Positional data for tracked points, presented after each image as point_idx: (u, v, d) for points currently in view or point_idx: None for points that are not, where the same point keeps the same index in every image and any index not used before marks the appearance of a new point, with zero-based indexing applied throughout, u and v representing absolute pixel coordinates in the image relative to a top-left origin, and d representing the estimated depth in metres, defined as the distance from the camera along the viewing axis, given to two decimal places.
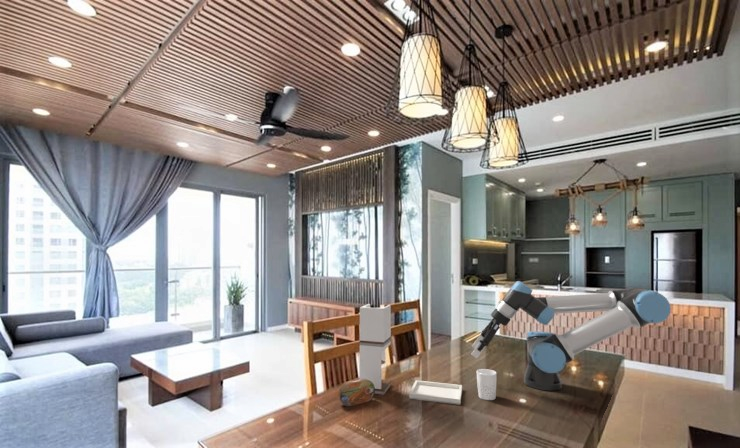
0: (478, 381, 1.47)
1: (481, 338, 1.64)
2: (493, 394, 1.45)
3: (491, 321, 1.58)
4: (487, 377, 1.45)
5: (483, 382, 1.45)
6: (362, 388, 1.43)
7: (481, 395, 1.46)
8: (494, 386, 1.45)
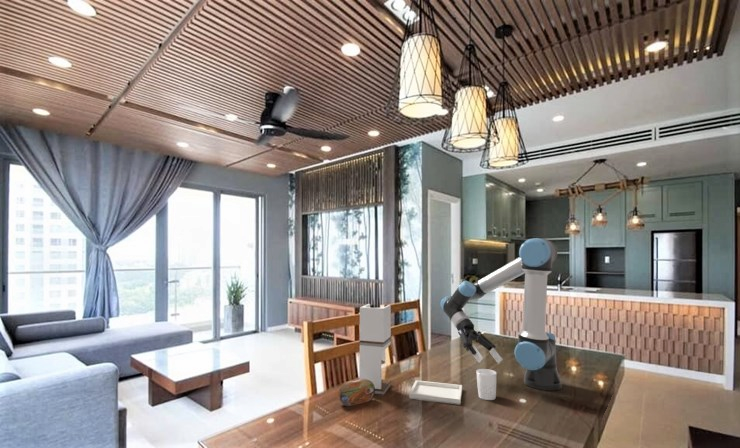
0: (478, 381, 1.47)
1: (491, 351, 1.61)
2: (493, 394, 1.45)
3: None
4: (487, 377, 1.45)
5: (483, 382, 1.45)
6: (362, 388, 1.43)
7: (481, 395, 1.46)
8: (494, 386, 1.45)
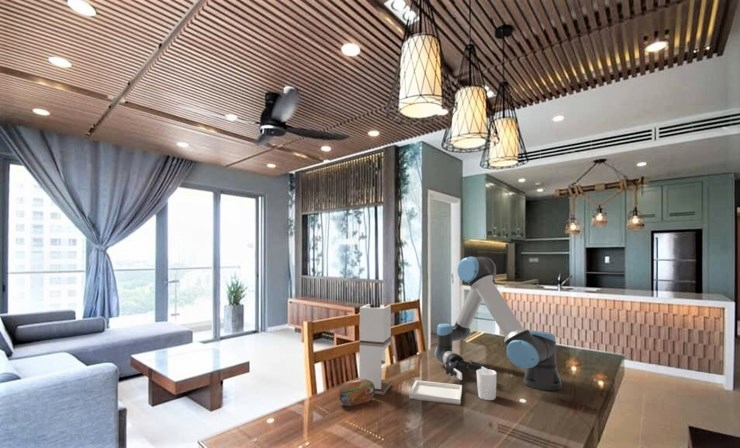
0: (478, 381, 1.47)
1: None
2: (493, 394, 1.45)
3: None
4: (487, 377, 1.45)
5: (483, 382, 1.45)
6: (362, 388, 1.43)
7: (481, 395, 1.46)
8: (494, 386, 1.45)
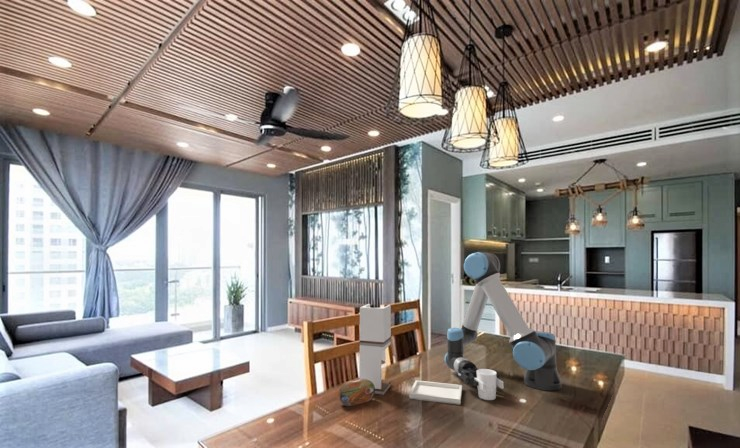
0: None
1: None
2: (493, 394, 1.45)
3: None
4: (487, 377, 1.45)
5: (483, 382, 1.45)
6: (362, 388, 1.43)
7: (481, 395, 1.46)
8: (494, 386, 1.45)
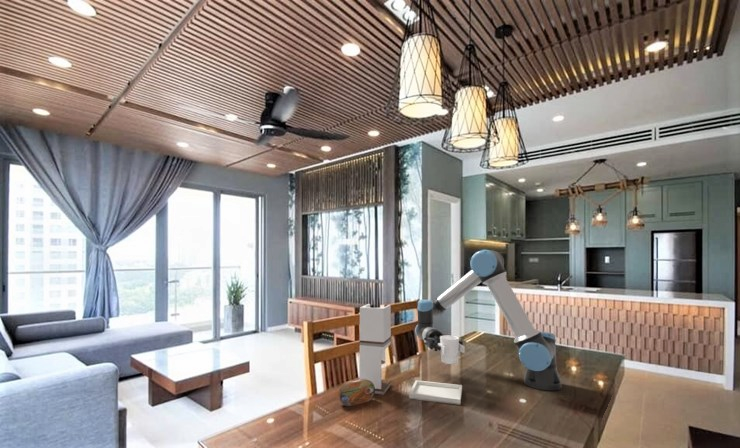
0: None
1: None
2: (455, 358, 1.49)
3: None
4: (449, 342, 1.49)
5: None
6: (362, 388, 1.43)
7: (443, 359, 1.50)
8: (456, 350, 1.50)
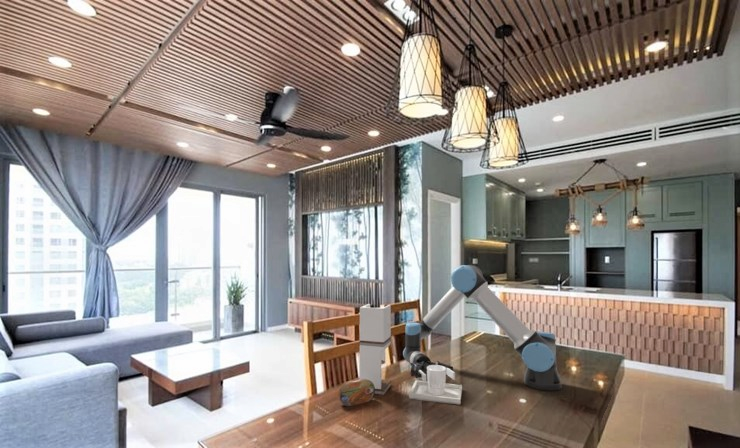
0: (428, 377, 1.50)
1: (447, 372, 1.54)
2: (442, 389, 1.48)
3: None
4: (436, 373, 1.48)
5: (432, 378, 1.48)
6: (362, 388, 1.43)
7: (430, 390, 1.49)
8: (443, 382, 1.48)
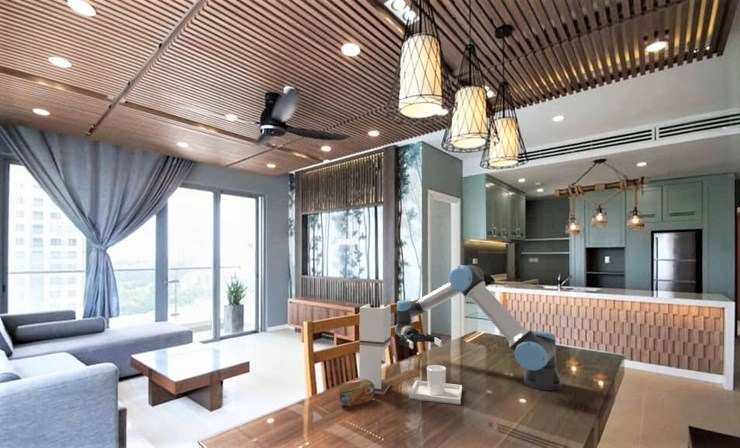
0: (428, 377, 1.50)
1: (435, 341, 1.69)
2: (442, 389, 1.48)
3: (416, 340, 1.76)
4: (436, 373, 1.48)
5: (432, 378, 1.48)
6: (362, 388, 1.43)
7: (430, 390, 1.49)
8: (443, 382, 1.48)
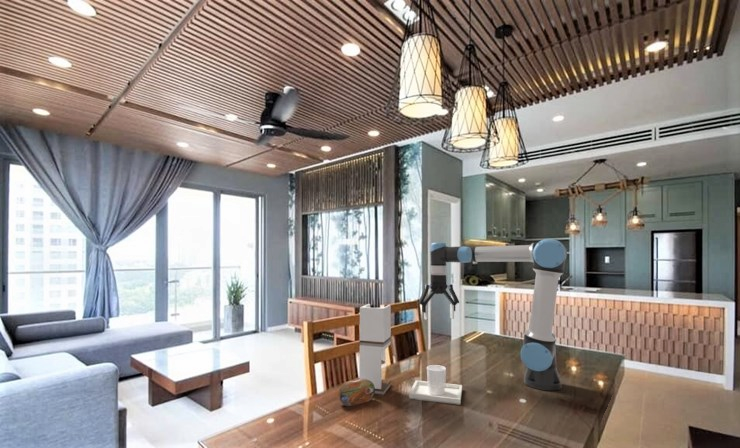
0: (428, 377, 1.50)
1: (451, 306, 1.77)
2: (441, 389, 1.48)
3: None
4: (435, 373, 1.48)
5: (432, 378, 1.48)
6: (362, 388, 1.43)
7: (430, 390, 1.49)
8: (443, 382, 1.48)
